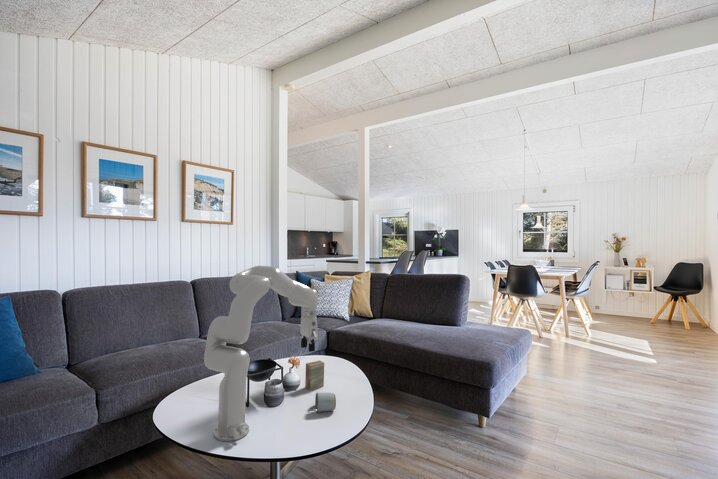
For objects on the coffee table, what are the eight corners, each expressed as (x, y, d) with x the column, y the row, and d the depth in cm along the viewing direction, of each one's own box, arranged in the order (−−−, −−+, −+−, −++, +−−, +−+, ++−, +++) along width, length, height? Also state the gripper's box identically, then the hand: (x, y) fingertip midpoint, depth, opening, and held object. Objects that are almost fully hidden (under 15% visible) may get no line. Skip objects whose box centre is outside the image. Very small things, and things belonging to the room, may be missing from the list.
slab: (323, 387, 181) (324, 362, 180) (309, 391, 176) (310, 366, 175) (319, 384, 184) (319, 360, 184) (305, 388, 179) (305, 363, 179)
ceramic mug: (336, 413, 155) (336, 395, 156) (317, 415, 153) (317, 396, 153) (331, 402, 166) (332, 385, 166) (313, 404, 163) (313, 387, 164)
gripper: (324, 316, 180) (323, 352, 180) (306, 310, 194) (305, 343, 194) (311, 318, 176) (310, 355, 176) (293, 311, 189) (292, 346, 189)
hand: (307, 349), depth 185 cm, fingers open, 6 cm apart
